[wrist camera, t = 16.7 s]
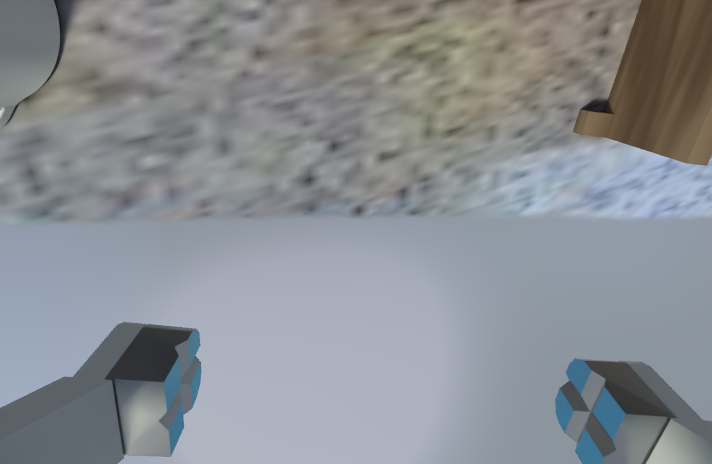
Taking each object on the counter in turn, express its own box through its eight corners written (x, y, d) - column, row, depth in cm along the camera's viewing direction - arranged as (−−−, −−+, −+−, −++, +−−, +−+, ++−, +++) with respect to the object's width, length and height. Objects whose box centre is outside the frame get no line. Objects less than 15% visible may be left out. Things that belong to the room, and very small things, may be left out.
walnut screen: (573, 131, 38) (655, 159, 28) (629, -47, 33) (756, -92, 23) (634, 138, 38) (737, 169, 28) (700, -37, 33) (857, -77, 23)
